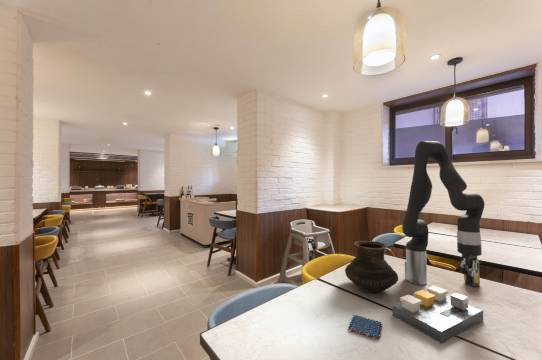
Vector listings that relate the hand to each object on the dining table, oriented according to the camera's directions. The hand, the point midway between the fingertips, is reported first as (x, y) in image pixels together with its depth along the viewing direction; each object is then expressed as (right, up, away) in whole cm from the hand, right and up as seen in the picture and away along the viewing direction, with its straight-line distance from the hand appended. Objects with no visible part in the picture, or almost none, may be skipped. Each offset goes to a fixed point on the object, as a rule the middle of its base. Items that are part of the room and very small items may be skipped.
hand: (470, 284), depth 93 cm
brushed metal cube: (-7, -7, -3) cm, 11 cm away
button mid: (-18, -10, +1) cm, 21 cm away
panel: (-16, -12, -3) cm, 20 cm away
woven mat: (-47, -13, -9) cm, 49 cm away
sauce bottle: (+23, -12, +26) cm, 37 cm away
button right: (-10, -10, +5) cm, 15 cm away
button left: (-26, -10, -3) cm, 28 cm away
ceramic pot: (-31, -13, +22) cm, 40 cm away
